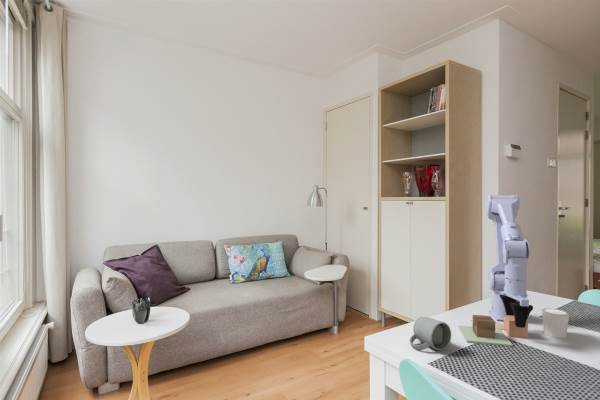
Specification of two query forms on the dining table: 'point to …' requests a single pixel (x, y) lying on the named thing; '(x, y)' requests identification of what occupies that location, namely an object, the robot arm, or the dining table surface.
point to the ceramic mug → (431, 334)
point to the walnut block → (483, 326)
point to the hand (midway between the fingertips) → (515, 322)
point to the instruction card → (497, 325)
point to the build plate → (472, 338)
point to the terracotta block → (514, 328)
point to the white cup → (555, 322)
